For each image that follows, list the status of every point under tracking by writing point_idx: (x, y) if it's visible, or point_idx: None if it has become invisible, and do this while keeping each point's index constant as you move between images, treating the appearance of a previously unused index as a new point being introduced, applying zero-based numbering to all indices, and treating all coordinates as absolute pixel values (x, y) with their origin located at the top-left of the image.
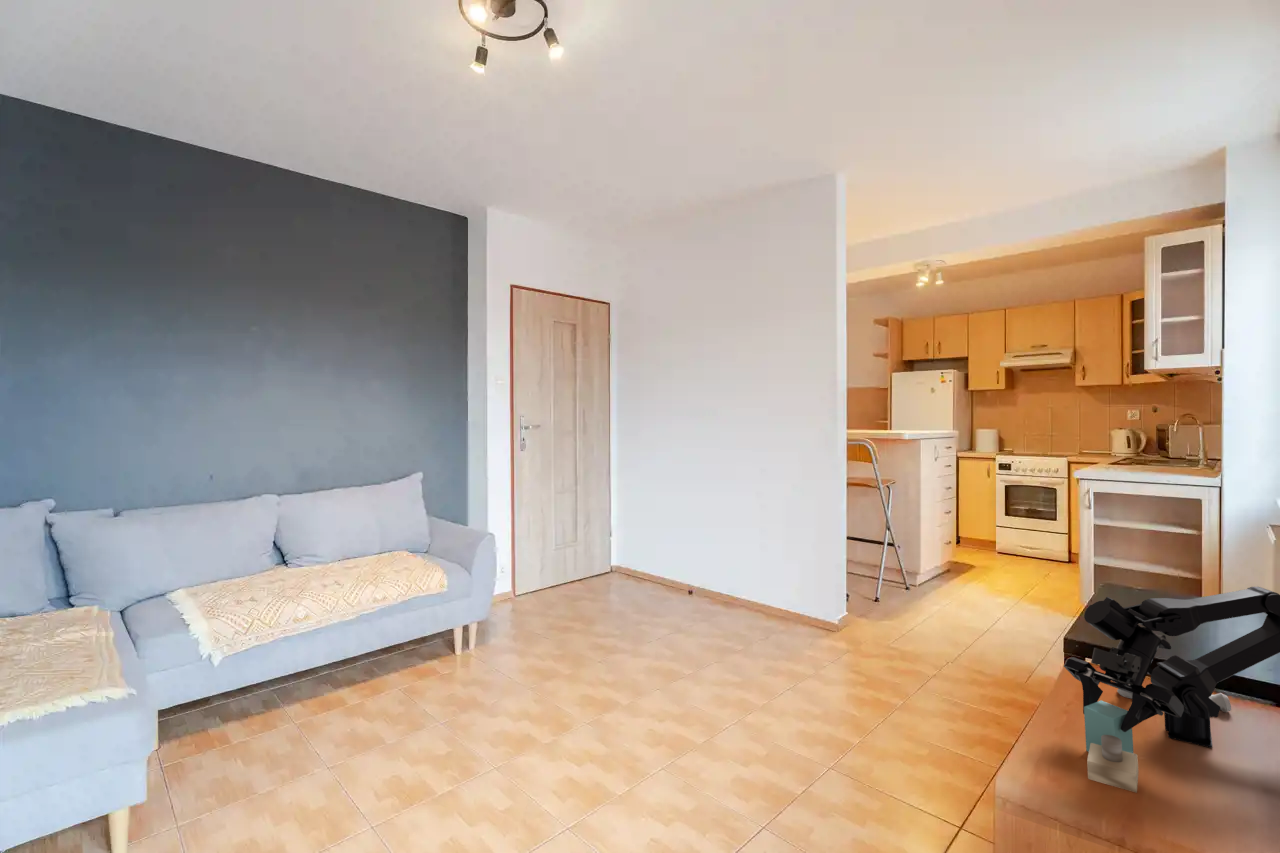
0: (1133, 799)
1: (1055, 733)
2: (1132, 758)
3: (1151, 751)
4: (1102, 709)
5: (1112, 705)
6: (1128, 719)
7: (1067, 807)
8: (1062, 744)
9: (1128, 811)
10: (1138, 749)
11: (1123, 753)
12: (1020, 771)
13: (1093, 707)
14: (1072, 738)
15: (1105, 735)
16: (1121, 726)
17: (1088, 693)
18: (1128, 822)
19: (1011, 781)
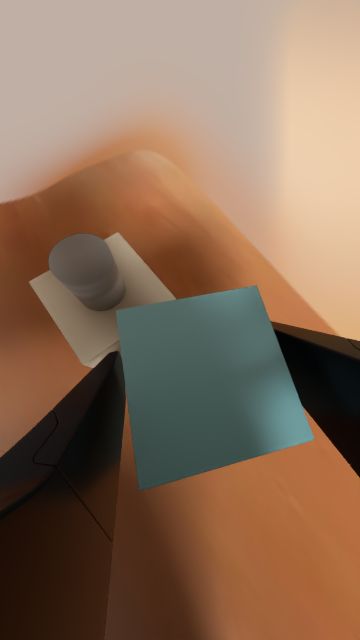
0: None
1: None
2: (76, 333)
3: (159, 508)
4: (213, 344)
5: (242, 447)
6: (82, 380)
7: (85, 182)
8: None
9: (32, 247)
10: None
11: (103, 332)
12: (183, 188)
13: (241, 319)
14: None
15: (105, 260)
16: (115, 354)
17: (353, 355)
18: (15, 225)
19: (166, 164)
